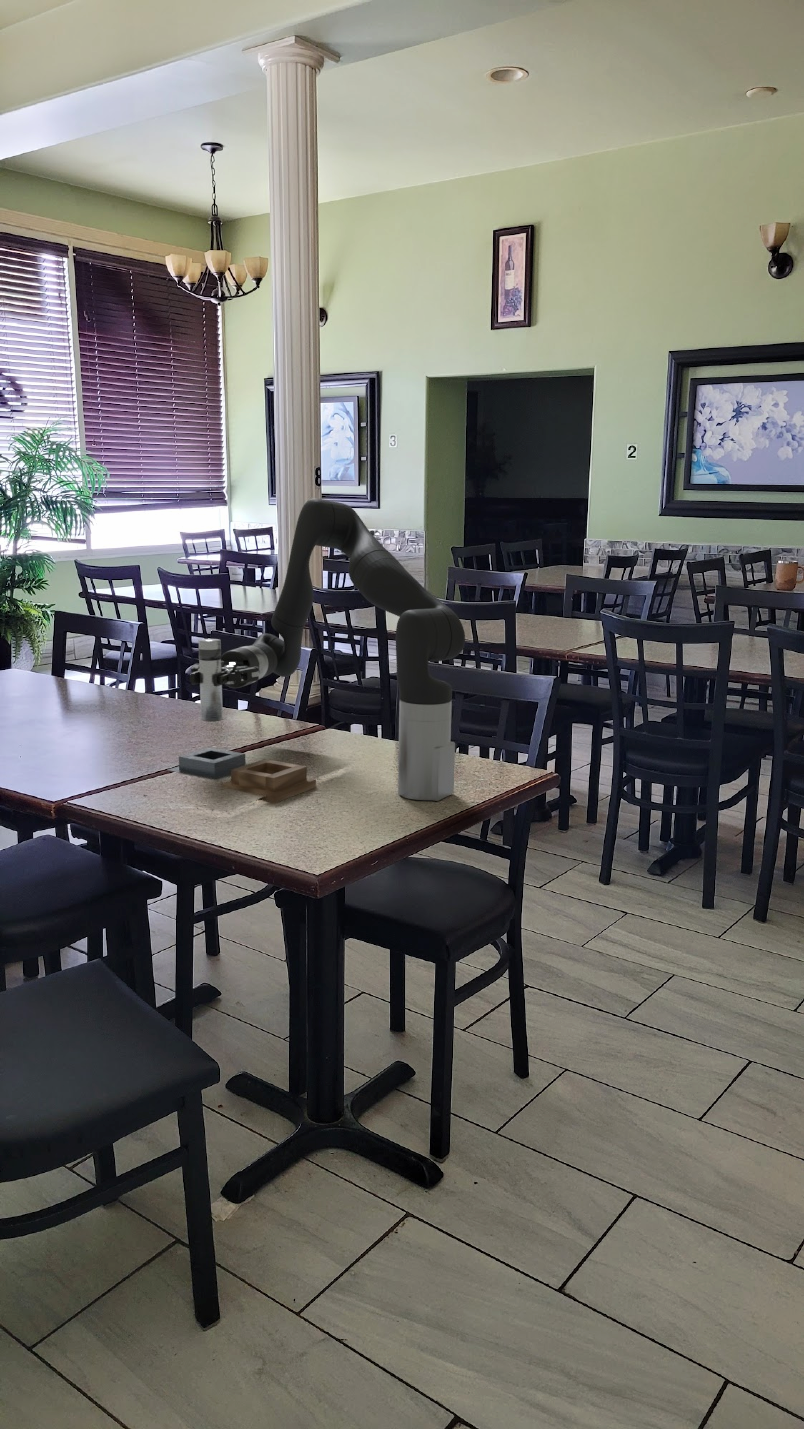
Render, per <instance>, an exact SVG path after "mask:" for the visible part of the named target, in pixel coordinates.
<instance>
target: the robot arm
mask: <svg viewBox="0 0 804 1429" xmlns="http://www.w3.org/2000/svg"><path fill="white" fill-rule="evenodd" d="M315 546H318V547H325V548H329V549H335V550H339V551H341V552H342V553H343V554H344V555H346V556H347V557H348V559H349V562H348V576H349V579H350V581H351V583H352V584H353V586H354V587H355V589H356V590H357V591H358V592H359V593H360V594H361V595H362V596H363V597H364V598H365V600H367V601H368V602H369V603H370V604H372V605H373V606H375V607H377V608H379V609H381V610H383V611H385V612H388V613H390V614H392V615H393V616H397V617H399V618H398V620H397V623H396V628H395V657H396V659H395V660H396V680H397V686H398V690H399V705H398V706H399V707H398V708H399V714H398V715H399V716H398V765H397V768H398V771H397V773H398V776H397V777H398V779H397V785H398V786H397V791H398V792H397V794H398V795H399V796H401V797H403V798H405V799H410V800H416V801H437V802H439V801H441V800H442V799H445V798H447V797H449V796H451V795H453V794H454V792H455V791H454V790H455V762H456V757H455V756H456V743H455V742H454V741H451V736H452V733H451V732H452V703H453V702H452V701H453V700H452V698H453V688H452V685H451V684H450V683H449V682H446V681H444V680H441V679H438V678H435V677H433V676H432V675H431V674H430V669H429V663H431V662H441V661H447V660H452V659H453V658H456V657H458V656H459V655H460V654H461V653H462V652H463V650H464V647H465V644H466V632H465V629H464V626H463V624H462V622H461V619H460V618H459V617H458V615H457V614H456V613H455V612H454V611H453V609H452V608H450V607H449V606H447V605H446V604H445V603H444V602H442V601H441V600H440V599H438V598H437V597H436V596H435V595H433V594H432V593H430V592H429V591H428V590H427V588H425V587H424V586H423V585H422V584H421V583H420V582H419V581H418V580H417V579H416V578H415V577H414V576H413V575H412V574H410V572H408V571H407V569H406V568H405V567H404V566H403V565H402V564H401V562H400V561H399V560H398V559H397V558H396V557H395V556H394V555H393V554H392V553H391V552H390V551H388V549H386V547H385V546H383V544H382V543H381V542H380V541H379V540H378V539H377V537H375V536H374V535H373V534H372V532H371V531H370V530H369V529H368V527H367V526H366V524H365V523H364V522H363V520H362V518H361V517H360V516H359V515H358V513H357V512H356V511H355V509H353V507H351V506H350V505H348V504H345V503H343V502H338V501H333V500H329V499H323V498H316V497H315V498H310V499H308V500H307V501H306V502H305V503H304V504H303V506H302V508H301V509H300V512H299V514H298V519H297V522H296V526H295V530H294V536H293V539H292V545H291V549H290V554H289V559H288V565H287V570H286V573H285V574H286V575H285V580H284V583H283V586H282V590H281V592H280V594H279V597H278V601H277V602H276V606H275V609H274V611H273V614H272V618H271V621H270V624H271V627H272V629H274V630H275V632H277V633H278V635H279V636H281V638H282V639H281V638H279V637H278V636H276V635H274V634H271V633H262V634H260V635H259V636H258V637H257V638H256V639H255V641H254V642H253V644H251V645H245V646H239V647H238V648H233V649H230V650H227V651H226V652H224V653H223V654H222V653H221V672H219V673H216V674H214V675H213V684H214V686H220V685H222V686H223V685H224V686H226V687H228V688H232V689H240V688H242V687H245V686H248V685H251V684H253V683H255V682H258V681H259V680H260V679H262V678H265V677H267V676H269V675H271V674H272V673H273V674H275V675H277V676H279V677H282V678H283V677H284V678H286V677H287V678H288V677H289V676H291V675H293V674H294V673H295V672H296V671H297V669H298V667H299V665H300V661H301V657H302V656H301V654H302V641H303V634H304V633H303V632H304V630H305V626H306V624H307V621H308V618H309V616H310V613H311V611H312V608H313V604H314V597H315V596H314V593H315V592H314V588H313V587H314V586H313V582H312V577H311V573H310V560H311V555H312V554H313V550H314V549H315ZM189 683H190V684H191V685H193V686H194V685H195V686H196V685H200V668H199V663H194V664H193V665H192V667H190V674H189Z"/></svg>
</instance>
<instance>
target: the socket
mask: <svg viewBox="0 0 804 1429" xmlns="http://www.w3.org/2000/svg"><path fill="white" fill-rule="evenodd" d="M248 764H249V763H246V753H243V752H238V751H234V750H233V751H232V750H226V749H221V748H214V747H207V748H204V749H200V750H196V751H193V752H190V753H186V754H183V755H179V756H178V766H175V767H172V768H168V769H167V771H170V772H174V773H179V774H184V775H189V776H194V777H199V778H204V779H209V780H215V781H216V780H219V779H223V778H226V777H228V776H231V770H232V769H235V768H238V767H242V766H245V765H248Z"/></svg>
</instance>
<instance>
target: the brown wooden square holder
mask: <svg viewBox="0 0 804 1429" xmlns="http://www.w3.org/2000/svg"><path fill="white" fill-rule="evenodd" d="M247 764H248V765H245V766H242V767H238V768H235V769H232V770H231V775H230V780H229V781H227V782H223V783H221V788H224V789H225V788H226V789H231V790H236V791H240V792H244V793H249V794H255V795H259V796H262V797H259V798H257V800H259V801H263V802H269V803H272V804H276V803H279V802H282V801H284V800H287V799H290V798H292V797H294V796H297V795H300V794H302V793H305V792H308V791H310V790H313V789H315V788H316V789H317V779H316V778H311V777H308V776H307V775H308V771H307V770H308V767H307V765H301V764H300V765H299V764H295V763H290V762H284V761H279V760H278V761H277V760H273V759H267V758H264V759H261V760H258V761H254V762H250V763H247Z"/></svg>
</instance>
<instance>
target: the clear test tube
mask: <svg viewBox="0 0 804 1429" xmlns="http://www.w3.org/2000/svg"><path fill="white" fill-rule="evenodd" d="M221 647H222V643H221V639H220V638H219V639H218V638H202V639H199V640H198V662H199V668H200V683H199V689H200V690H199V693H200V694H199V695H200V699H199V700H200V720H201V721H202V722H207V723H209V722H211V723H212V722H215V723H216V722H221V721H223V718H224V717H223V712H224V710H223V685H220V686H214V684H213V675H214V674H216V673H219V672H221V655H222V648H221Z"/></svg>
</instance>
